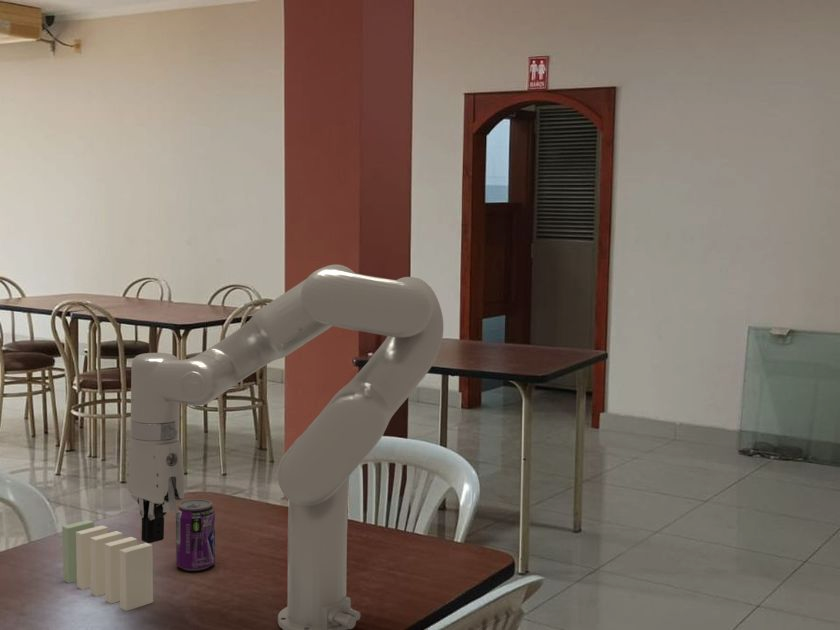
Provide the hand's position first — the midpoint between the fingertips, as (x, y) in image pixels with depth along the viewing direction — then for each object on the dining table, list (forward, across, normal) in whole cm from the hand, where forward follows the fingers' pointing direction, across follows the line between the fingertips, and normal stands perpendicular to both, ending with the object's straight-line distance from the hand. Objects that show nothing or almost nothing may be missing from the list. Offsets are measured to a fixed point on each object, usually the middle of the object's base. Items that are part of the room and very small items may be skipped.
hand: (152, 540), depth 167 cm
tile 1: (+13, +5, -1) cm, 14 cm away
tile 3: (+13, +14, -1) cm, 19 cm away
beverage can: (+13, +13, -19) cm, 26 cm away
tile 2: (+13, +10, -1) cm, 16 cm away
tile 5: (+13, +23, -1) cm, 27 cm away
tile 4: (+13, +19, -1) cm, 23 cm away
